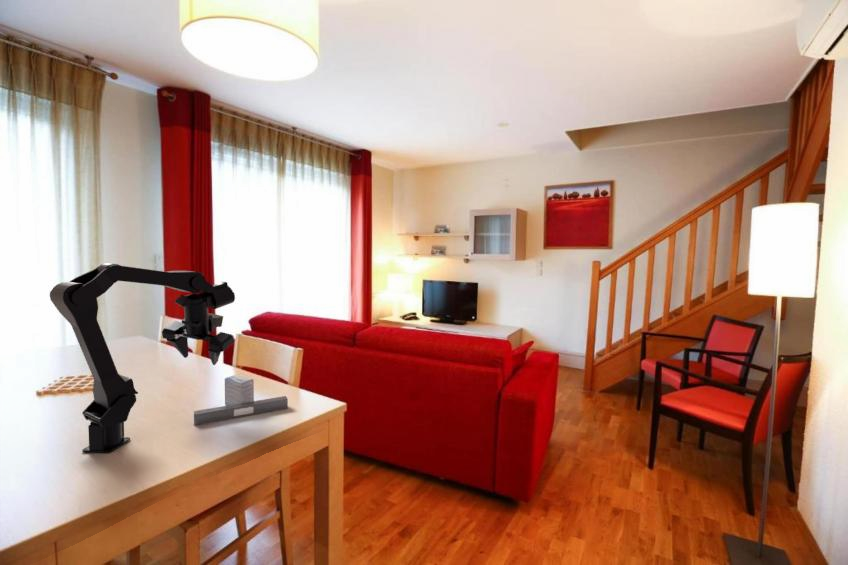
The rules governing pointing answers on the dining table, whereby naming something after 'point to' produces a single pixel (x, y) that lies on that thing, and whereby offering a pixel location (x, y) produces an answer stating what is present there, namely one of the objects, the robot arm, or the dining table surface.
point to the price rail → (239, 410)
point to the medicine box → (238, 390)
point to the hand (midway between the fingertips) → (200, 360)
